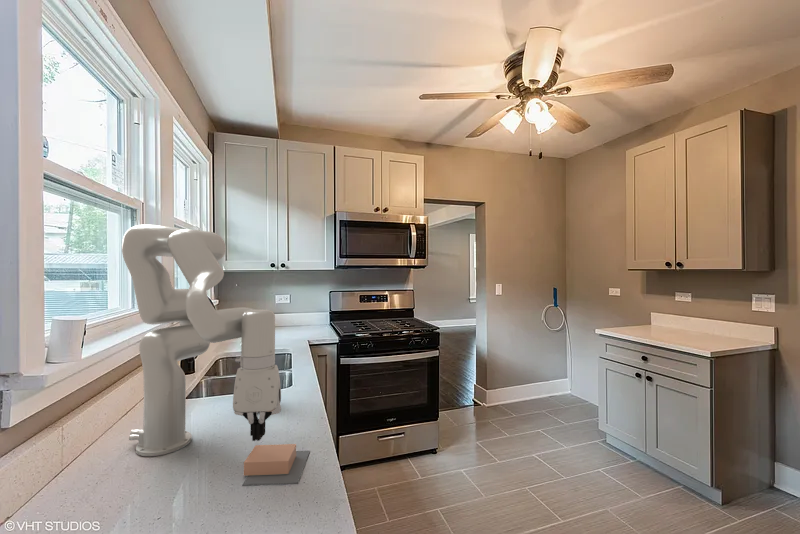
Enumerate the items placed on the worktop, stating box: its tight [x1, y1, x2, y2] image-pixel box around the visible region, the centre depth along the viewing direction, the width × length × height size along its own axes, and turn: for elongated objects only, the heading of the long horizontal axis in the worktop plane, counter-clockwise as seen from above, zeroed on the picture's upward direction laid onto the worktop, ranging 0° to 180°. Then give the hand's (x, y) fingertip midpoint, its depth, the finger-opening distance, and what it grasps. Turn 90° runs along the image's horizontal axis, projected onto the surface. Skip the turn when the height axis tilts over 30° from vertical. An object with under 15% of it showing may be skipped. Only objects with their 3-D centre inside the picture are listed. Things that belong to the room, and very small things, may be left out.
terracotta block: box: [243, 443, 297, 477], centre depth 84 cm, size 3×8×10 cm
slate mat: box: [241, 449, 311, 487], centre depth 85 cm, size 12×14×1 cm
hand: (257, 438), depth 84 cm, fingers closed
